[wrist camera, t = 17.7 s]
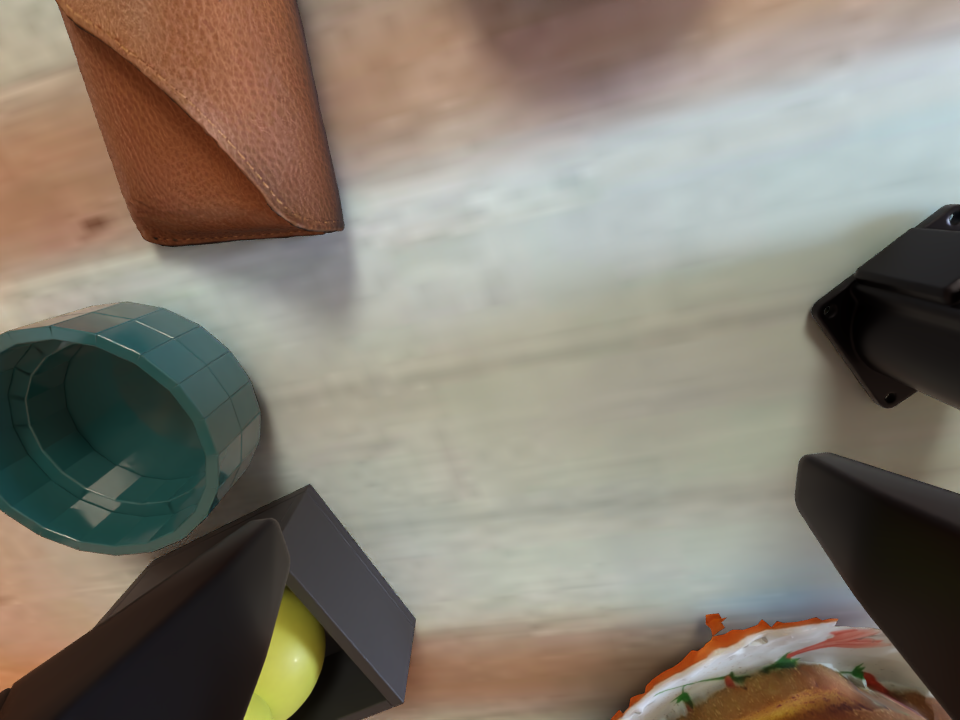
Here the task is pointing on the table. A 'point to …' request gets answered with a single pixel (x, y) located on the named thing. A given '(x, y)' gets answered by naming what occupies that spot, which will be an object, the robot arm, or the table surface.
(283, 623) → the pear
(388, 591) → the bin
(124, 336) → the bowl
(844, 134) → the table surface
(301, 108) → the sunglasses case
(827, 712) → the food on plate
